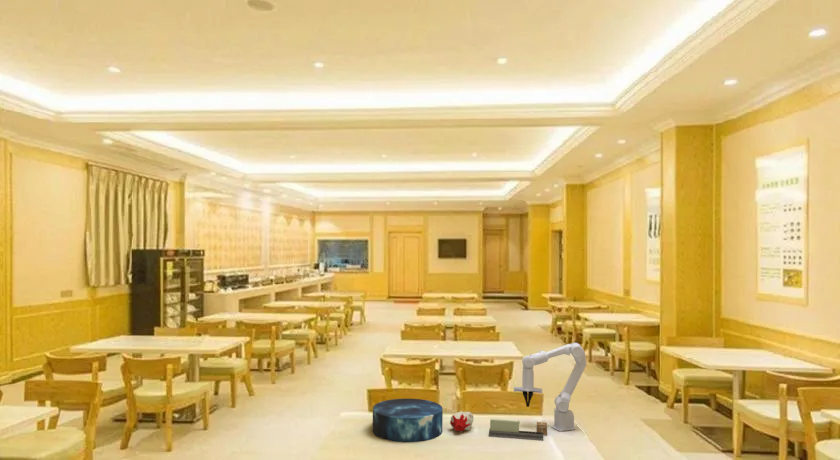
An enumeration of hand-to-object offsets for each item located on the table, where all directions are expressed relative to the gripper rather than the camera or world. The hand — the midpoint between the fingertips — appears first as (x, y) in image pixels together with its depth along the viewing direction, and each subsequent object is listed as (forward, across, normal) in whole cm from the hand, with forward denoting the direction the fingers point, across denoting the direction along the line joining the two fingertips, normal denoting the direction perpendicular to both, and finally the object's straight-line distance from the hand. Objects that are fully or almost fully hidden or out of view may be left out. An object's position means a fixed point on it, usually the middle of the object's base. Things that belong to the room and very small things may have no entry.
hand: (527, 406), depth 296 cm
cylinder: (+11, -59, -20) cm, 63 cm away
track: (+10, -5, -17) cm, 20 cm away
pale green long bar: (+9, -11, -17) cm, 22 cm away
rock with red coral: (+11, -33, -15) cm, 38 cm away
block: (+10, +7, -10) cm, 16 cm away
